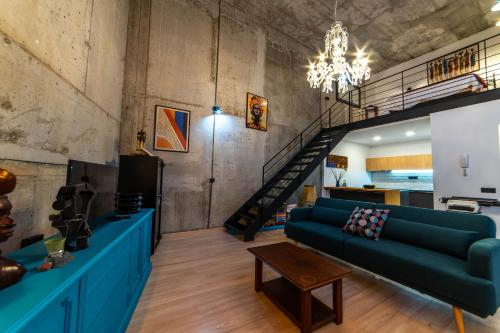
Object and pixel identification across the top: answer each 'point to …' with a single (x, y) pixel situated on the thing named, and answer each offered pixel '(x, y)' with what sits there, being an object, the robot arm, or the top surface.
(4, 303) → the top surface
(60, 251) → the coupling
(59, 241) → the plant pot
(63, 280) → the top surface
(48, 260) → the valve body
